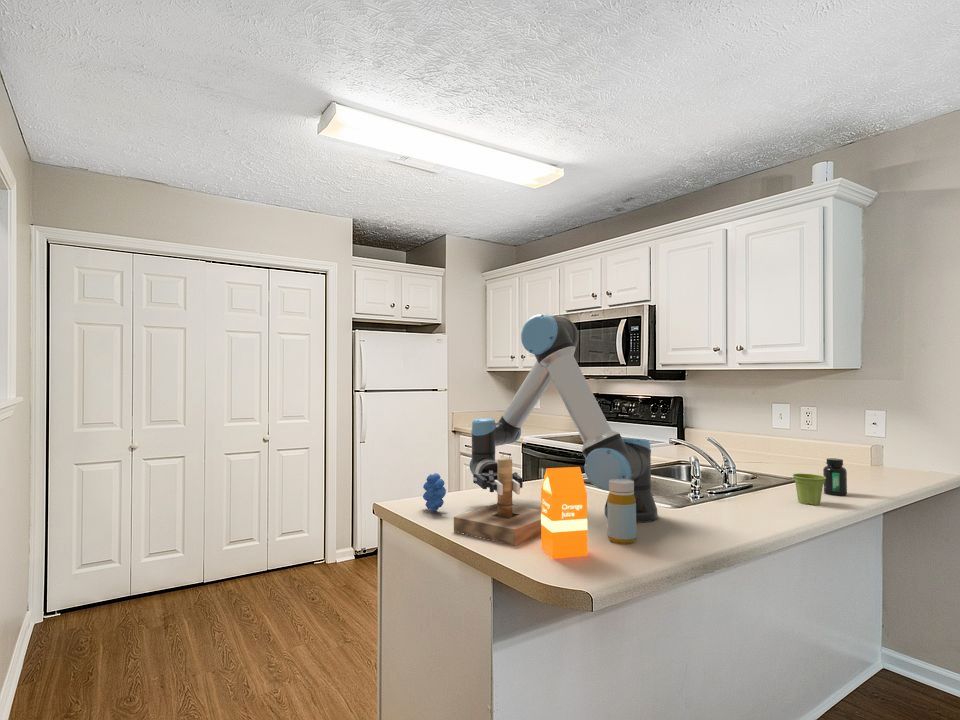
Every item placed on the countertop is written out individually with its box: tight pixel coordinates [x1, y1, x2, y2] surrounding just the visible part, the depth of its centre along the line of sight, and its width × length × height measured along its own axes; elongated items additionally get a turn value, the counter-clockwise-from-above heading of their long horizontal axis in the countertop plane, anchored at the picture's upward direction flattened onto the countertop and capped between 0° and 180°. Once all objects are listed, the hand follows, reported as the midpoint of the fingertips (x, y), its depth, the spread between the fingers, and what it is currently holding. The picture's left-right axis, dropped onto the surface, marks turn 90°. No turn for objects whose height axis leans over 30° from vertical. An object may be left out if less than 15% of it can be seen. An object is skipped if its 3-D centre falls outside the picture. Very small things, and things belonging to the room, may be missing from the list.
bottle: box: [606, 479, 637, 545], centre depth 144 cm, size 7×7×15 cm
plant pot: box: [791, 473, 826, 506], centre depth 183 cm, size 9×9×9 cm
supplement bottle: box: [822, 458, 848, 497], centre depth 195 cm, size 7×7×12 cm
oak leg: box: [496, 458, 513, 519], centre depth 154 cm, size 4×4×16 cm
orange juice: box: [540, 466, 588, 560], centre depth 135 cm, size 8×9×20 cm
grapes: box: [422, 472, 447, 513], centre depth 175 cm, size 12×7×12 cm, turn 34°
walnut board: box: [453, 503, 541, 547], centre depth 154 cm, size 20×20×4 cm
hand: (509, 489), depth 149 cm, fingers closed on oak leg, 4 cm apart
